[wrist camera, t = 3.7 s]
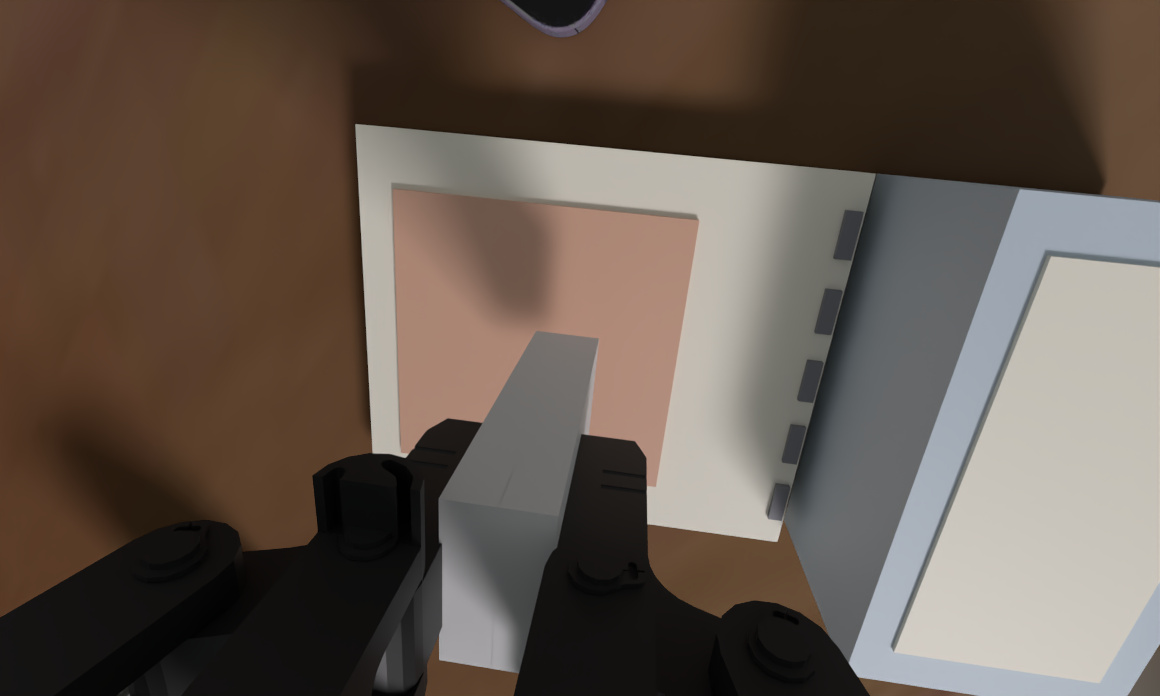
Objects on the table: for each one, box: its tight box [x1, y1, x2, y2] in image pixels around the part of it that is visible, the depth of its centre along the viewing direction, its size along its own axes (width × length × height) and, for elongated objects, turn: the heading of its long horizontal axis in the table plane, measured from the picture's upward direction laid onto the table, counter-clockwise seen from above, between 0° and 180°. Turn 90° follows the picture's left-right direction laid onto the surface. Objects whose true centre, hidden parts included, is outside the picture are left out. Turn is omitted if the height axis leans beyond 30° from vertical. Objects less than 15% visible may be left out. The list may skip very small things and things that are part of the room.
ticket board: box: [355, 124, 876, 542], centre depth 16 cm, size 13×11×2 cm
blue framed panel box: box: [784, 174, 1160, 696], centre depth 13 cm, size 6×11×6 cm, turn 175°
